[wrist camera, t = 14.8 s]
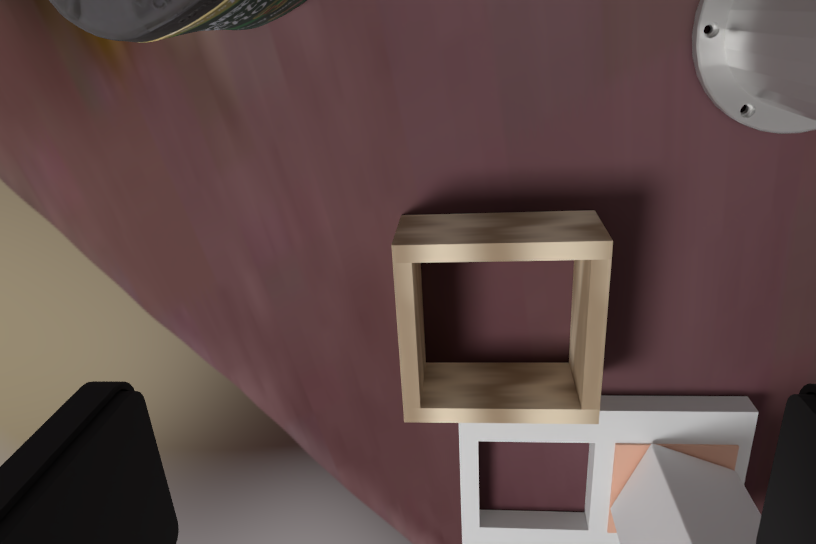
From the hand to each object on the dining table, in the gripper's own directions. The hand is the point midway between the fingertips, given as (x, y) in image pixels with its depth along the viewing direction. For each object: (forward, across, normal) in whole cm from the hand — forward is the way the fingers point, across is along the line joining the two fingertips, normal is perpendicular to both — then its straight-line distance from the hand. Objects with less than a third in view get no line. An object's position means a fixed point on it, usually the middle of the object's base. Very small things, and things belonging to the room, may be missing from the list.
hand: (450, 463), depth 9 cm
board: (+34, -10, +30) cm, 47 cm away
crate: (+34, -2, +14) cm, 37 cm away
